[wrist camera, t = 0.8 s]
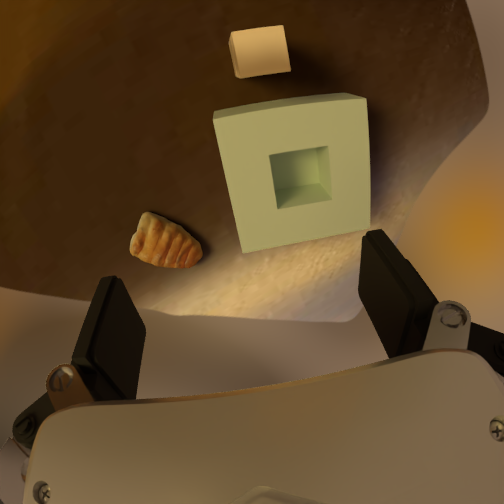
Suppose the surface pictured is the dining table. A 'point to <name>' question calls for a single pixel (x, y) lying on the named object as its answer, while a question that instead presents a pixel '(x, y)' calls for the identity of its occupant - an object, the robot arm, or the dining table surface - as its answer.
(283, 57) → the birch block
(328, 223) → the well block
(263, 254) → the dining table surface
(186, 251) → the pastry
